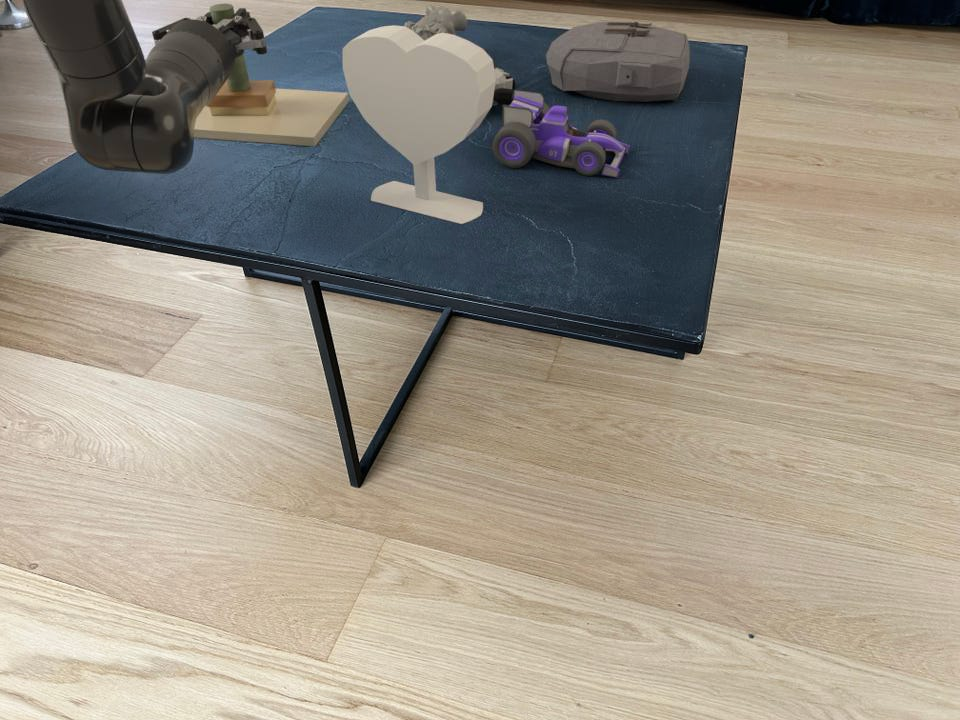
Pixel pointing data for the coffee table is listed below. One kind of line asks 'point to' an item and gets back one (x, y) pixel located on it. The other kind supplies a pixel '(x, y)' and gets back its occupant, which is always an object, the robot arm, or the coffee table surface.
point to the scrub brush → (240, 83)
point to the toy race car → (554, 138)
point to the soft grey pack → (620, 61)
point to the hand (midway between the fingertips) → (231, 16)
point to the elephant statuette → (438, 22)
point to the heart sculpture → (420, 107)
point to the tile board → (278, 119)
